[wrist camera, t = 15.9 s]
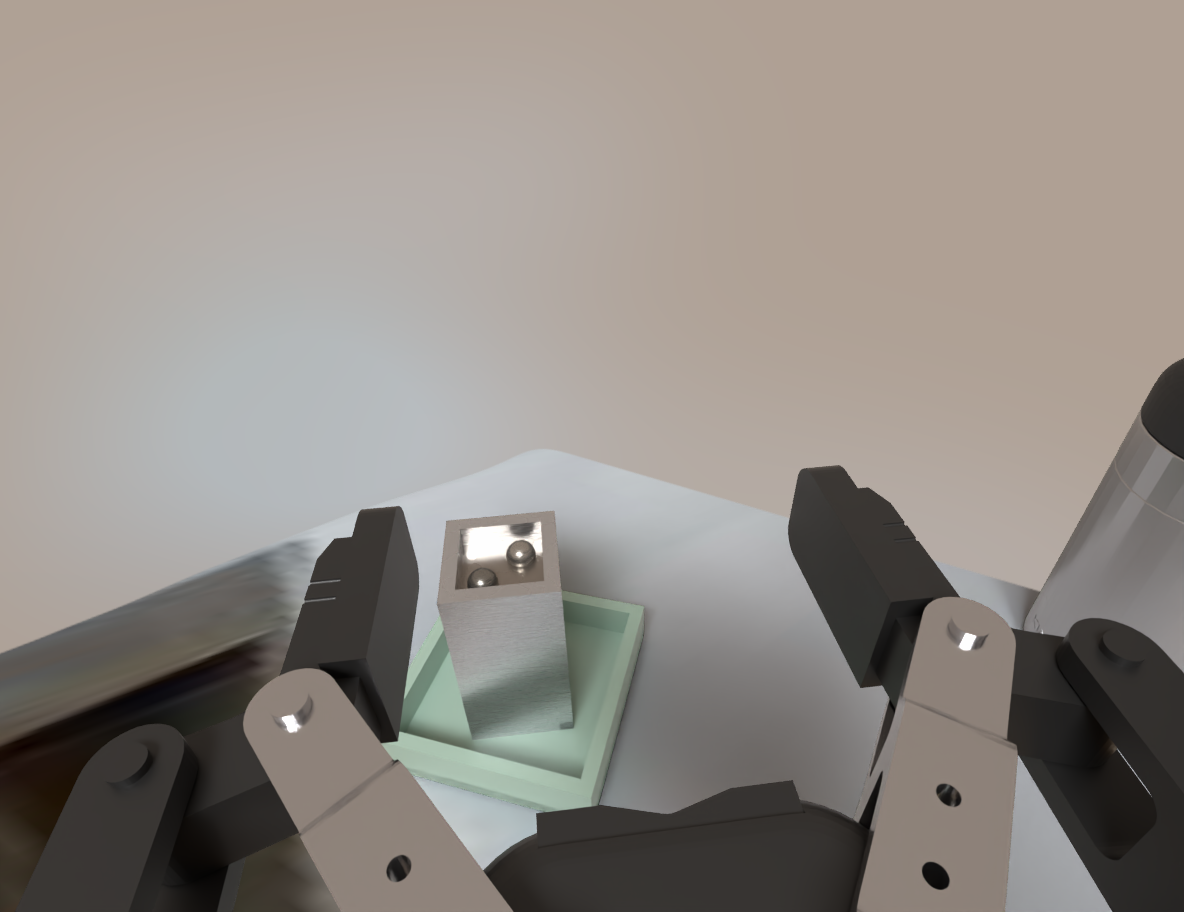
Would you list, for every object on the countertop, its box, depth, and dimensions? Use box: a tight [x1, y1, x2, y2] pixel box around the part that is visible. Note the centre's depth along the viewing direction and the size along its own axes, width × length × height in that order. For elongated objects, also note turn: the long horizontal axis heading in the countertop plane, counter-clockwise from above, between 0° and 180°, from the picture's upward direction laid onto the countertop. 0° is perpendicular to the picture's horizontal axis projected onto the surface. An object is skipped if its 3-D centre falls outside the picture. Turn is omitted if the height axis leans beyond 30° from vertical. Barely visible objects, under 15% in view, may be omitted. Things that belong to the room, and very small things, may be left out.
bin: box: [381, 590, 644, 812], centre depth 41 cm, size 13×13×3 cm
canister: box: [437, 511, 574, 740], centre depth 38 cm, size 6×6×12 cm
